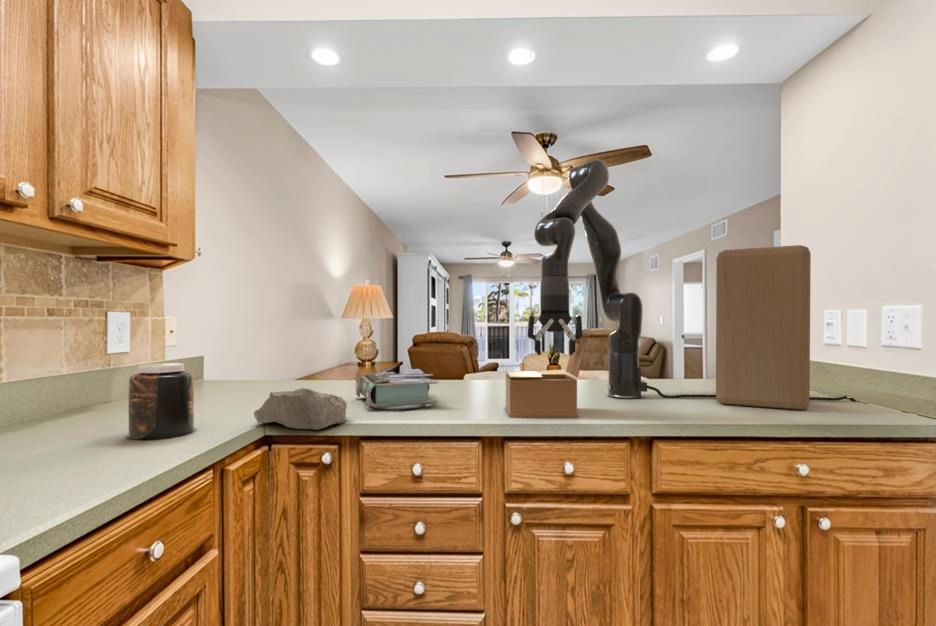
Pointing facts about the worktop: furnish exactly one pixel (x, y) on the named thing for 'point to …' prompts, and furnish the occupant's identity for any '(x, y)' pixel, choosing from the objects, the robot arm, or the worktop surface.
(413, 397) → the ornate book
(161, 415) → the jar
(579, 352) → the cardboard box flap
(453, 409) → the worktop surface
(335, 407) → the stone
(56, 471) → the worktop surface
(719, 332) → the wooden block
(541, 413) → the open shipping carton
